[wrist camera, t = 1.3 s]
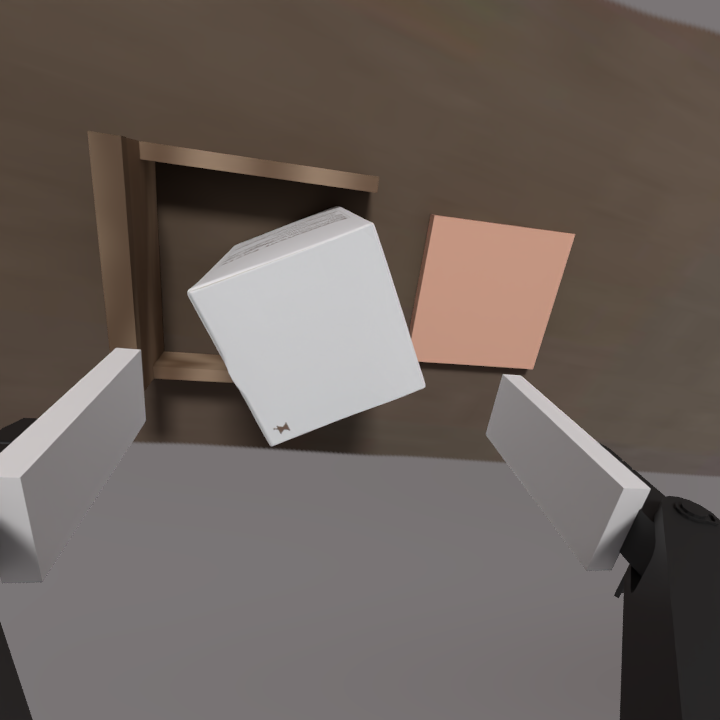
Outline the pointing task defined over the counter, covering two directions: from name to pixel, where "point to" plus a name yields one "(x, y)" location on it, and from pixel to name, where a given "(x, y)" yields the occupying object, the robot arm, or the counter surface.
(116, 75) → the counter surface
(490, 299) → the terracotta tile
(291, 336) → the supplement box
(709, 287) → the counter surface
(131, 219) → the wooden u-shaped frame
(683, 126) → the counter surface
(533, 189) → the counter surface
